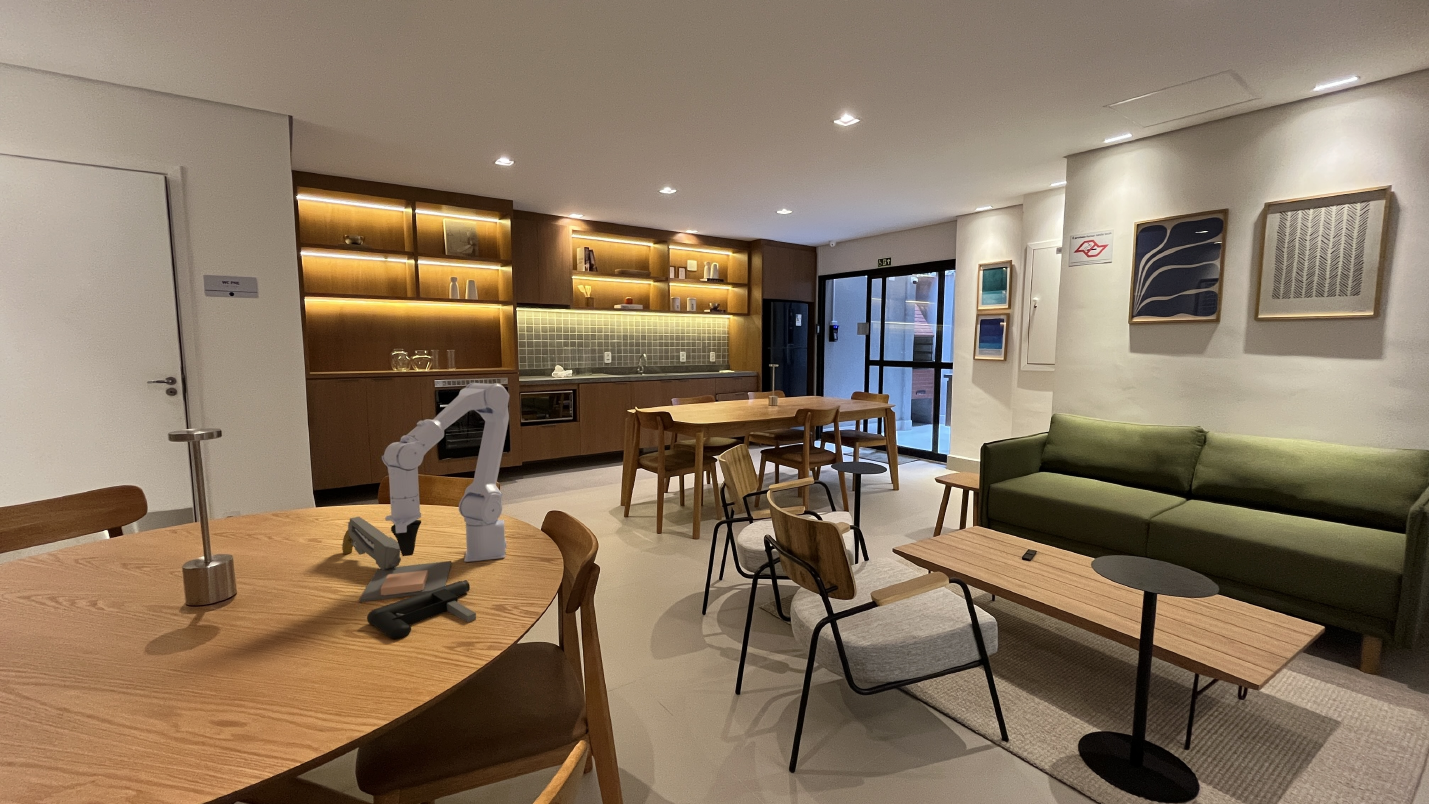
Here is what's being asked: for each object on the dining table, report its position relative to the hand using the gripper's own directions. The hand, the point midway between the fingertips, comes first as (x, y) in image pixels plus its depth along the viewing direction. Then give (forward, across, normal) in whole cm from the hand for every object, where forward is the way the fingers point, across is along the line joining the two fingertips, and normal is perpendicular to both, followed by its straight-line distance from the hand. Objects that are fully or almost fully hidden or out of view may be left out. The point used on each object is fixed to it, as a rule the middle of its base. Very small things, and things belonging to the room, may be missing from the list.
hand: (408, 554), depth 132 cm
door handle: (+7, +20, +7) cm, 23 cm away
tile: (+5, 0, 0) cm, 5 cm away
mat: (+6, -1, 0) cm, 6 cm away
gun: (+6, -17, -11) cm, 21 cm away
